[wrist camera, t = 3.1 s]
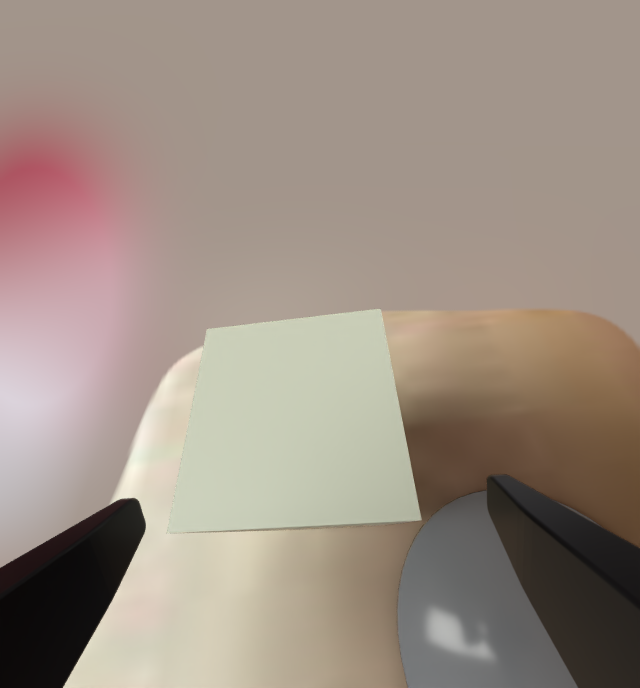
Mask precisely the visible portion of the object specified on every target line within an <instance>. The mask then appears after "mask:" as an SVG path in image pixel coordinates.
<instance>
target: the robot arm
mask: <svg viewBox="0 0 640 688" xmlns="http://www.w3.org/2000/svg"><path fill="white" fill-rule="evenodd" d="M487 508H488V512H489V515H490V517H491V519H492V522H493V524H494V526H495V528H496V531H497V533H498V535H499V537H500V540H501V542H502V544H503V546H504V549H505V551H506V553H507V555H508V557H509V560H510V562H511V564H512V566H513V569H514V571H515V573H516V575H517V577H518V580H519V582H520V584H521V586H522V588H523V590H524V592H525V594H526V595H527V597H528V599H529V601H530V603H531V605H532V606H533V608H534V610H535V612H536V614H537V615H538V617H539V619H540V621H541V623H542V624H543V626H544V628H545V630H546V632H547V633H548V635H549V637H550V639H551V640H552V642H553V644H554V646H555V648H556V649H557V651H558V653H559V655H560V657H561V658H562V660H563V662H564V664H565V666H566V667H567V669H568V671H569V673H570V675H571V676H572V678H573V680H574V682H575V683H576V685H577V687H578V688H640V548H639V547H637V546H635V545H633V544H631V543H630V542H628V541H626V540H624V539H622V538H621V537H619V536H617V535H615V534H613V533H612V532H610V531H608V530H606V529H604V528H603V527H601V526H599V525H597V524H595V523H594V522H592V521H590V520H588V519H586V518H585V517H583V516H581V515H579V514H577V513H576V512H574V511H572V510H570V509H568V508H567V507H565V506H563V505H561V504H559V503H558V502H556V501H554V500H552V499H550V498H549V497H547V496H545V495H543V494H541V493H540V492H538V491H536V490H534V489H532V488H531V487H529V486H527V485H525V484H523V483H522V482H520V481H518V480H516V479H514V478H513V477H511V476H509V475H506V474H498V475H490V476H488V478H487ZM145 528H146V523H145V519H144V516H143V513H142V509H141V506H140V503H139V501H138V500H137V499H135V498H127V499H120V500H118V501H116V502H114V503H112V504H111V505H109V506H107V507H106V508H104V509H102V510H100V511H98V512H97V513H95V514H93V515H92V516H90V517H88V518H86V519H85V520H83V521H81V522H79V523H78V524H76V525H74V526H72V527H71V528H69V529H67V530H65V531H64V532H62V533H60V534H59V535H57V536H55V537H53V538H51V539H50V540H48V541H46V542H45V543H43V544H41V545H39V546H37V547H36V548H34V549H32V550H30V551H29V552H27V553H25V554H24V555H22V556H20V557H18V558H17V559H15V560H13V561H11V562H10V563H8V564H6V565H5V566H3V567H1V568H0V688H63V686H64V685H65V683H66V681H67V679H68V678H69V676H70V674H71V672H72V671H73V669H74V667H75V665H76V664H77V662H78V660H79V658H80V656H81V655H82V653H83V651H84V649H85V648H86V646H87V644H88V642H89V641H90V639H91V637H92V635H93V634H94V632H95V630H96V628H97V627H98V625H99V623H100V621H101V620H102V618H103V616H104V614H105V612H106V611H107V609H108V607H109V605H110V603H111V601H112V600H113V598H114V596H115V594H116V592H117V590H118V588H119V585H120V583H121V581H122V579H123V577H124V575H125V573H126V571H127V569H128V567H129V564H130V562H131V560H132V558H133V556H134V554H135V552H136V550H137V548H138V546H139V543H140V541H141V539H142V537H143V535H144V533H145Z"/></svg>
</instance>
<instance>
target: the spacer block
mask: <svg viewBox="0 0 640 688" xmlns="http://www.w3.org/2000/svg"><path fill="white" fill-rule="evenodd" d="M413 521H421V515H420V510H419V504H418V499H417V494H416V489H415V484H414V479H413V473H412V468H411V463H410V458H409V453H408V447H407V442H406V437H405V432H404V427H403V422H402V416H401V411H400V406H399V401H398V396H397V391H396V385H395V380H394V375H393V370H392V365H391V360H390V354H389V349H388V344H387V339H386V334H385V329H384V323H383V318H382V313H381V309H374V310H365V311H357V312H348V313H340V314H332V315H323V316H314V317H306V318H298V319H289V320H282V321H272V322H264V323H255V324H247V325H239V326H230V327H221V328H213V329H207V332H206V337H205V342H204V347H203V352H202V357H201V362H200V367H199V372H198V377H197V383H196V388H195V393H194V398H193V403H192V408H191V413H190V418H189V423H188V428H187V433H186V438H185V443H184V448H183V453H182V458H181V463H180V469H179V474H178V479H177V484H176V489H175V494H174V499H173V504H172V509H171V514H170V519H169V524H168V529H167V533H198V532H235V531H271V530H299V529H319V528H339V527H359V526H379V525H392V524H399V523H406V522H413Z"/></svg>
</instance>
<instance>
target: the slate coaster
mask: <svg viewBox="0 0 640 688" xmlns="http://www.w3.org/2000/svg"><path fill="white" fill-rule="evenodd" d="M554 501H555V500H554ZM556 502H557V501H556ZM558 503H559V502H558ZM559 504H561V503H559ZM561 505H563V506H565V507H567V508H568V509H570V510H572V511H574V512H576V513H577V514H579V515H581V516H583V517H585V518H586V519H588V520H590V521H592V522H594V521H593V520H591V519H590V518H588V517H586V516H585V515H583V514H581V513H579V512H578V511H576V510H574V509H572V508H570V507H568V506H566V505H564V504H561ZM594 523H595V524H597V523H596V522H594ZM597 525H599V524H597ZM599 526H600V525H599ZM397 630H398V638H399V646H400V654H401V659H402V663H403V668H404V672H405V677H406V681H407V685H408V688H578V687H577V685H576V683H575V682H574V680H573V678H572V676H571V675H570V673H569V671H568V669H567V667H566V666H565V664H564V662H563V660H562V658H561V657H560V655H559V653H558V651H557V649H556V648H555V646H554V644H553V642H552V640H551V639H550V637H549V635H548V633H547V632H546V630H545V628H544V626H543V624H542V623H541V621H540V619H539V617H538V615H537V614H536V612H535V610H534V608H533V606H532V605H531V603H530V601H529V599H528V597H527V595H526V594H525V592H524V590H523V588H522V586H521V584H520V582H519V580H518V577H517V575H516V573H515V571H514V569H513V566H512V564H511V562H510V560H509V557H508V555H507V553H506V551H505V549H504V546H503V544H502V542H501V540H500V537H499V535H498V533H497V531H496V528H495V526H494V524H493V522H492V519H491V517H490V515H489V512H488V508H487V490H486V491H481V492H475V493H472V494H469V495H466V496H463V497H460V498H458V499H455V500H454V501H452V502H450V503H448V504H446V505H444V506H443V507H442V508H441V509H439V510H438V511H437V512H436V513H434V514H433V515H432V516H431V517H430V518H429V519H428V520H427V522H426V523H425V524H424V525H423V526H422V528H421V529H420V531H419V532H418V534H417V535H416V537H415V538H414V540H413V542H412V544H411V546H410V549H409V551H408V553H407V556H406V559H405V562H404V565H403V568H402V573H401V578H400V583H399V588H398V601H397Z"/></svg>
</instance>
